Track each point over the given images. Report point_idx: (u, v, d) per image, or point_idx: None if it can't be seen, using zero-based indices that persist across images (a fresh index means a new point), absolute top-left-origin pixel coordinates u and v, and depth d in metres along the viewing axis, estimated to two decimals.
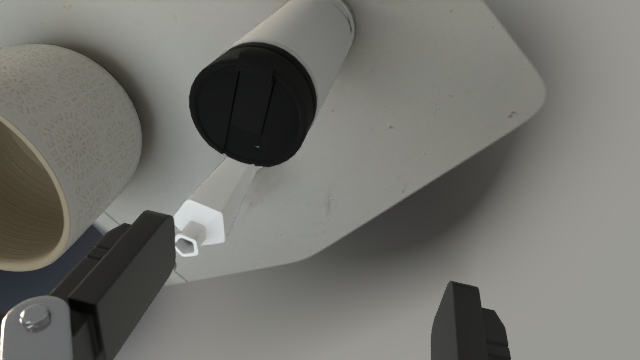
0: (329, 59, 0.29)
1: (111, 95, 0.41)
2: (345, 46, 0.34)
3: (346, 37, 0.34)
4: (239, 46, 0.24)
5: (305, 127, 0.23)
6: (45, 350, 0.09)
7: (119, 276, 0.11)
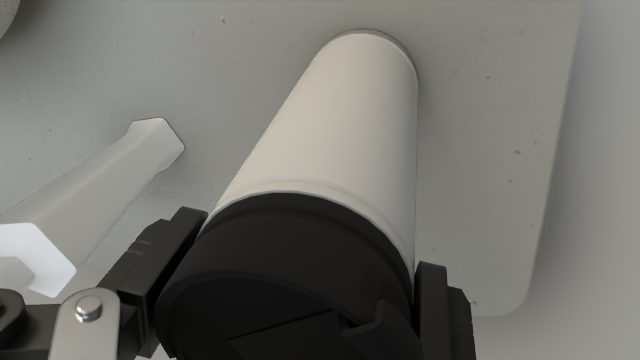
0: None
1: None
2: None
3: None
4: (343, 220, 0.11)
5: None
6: (93, 341, 0.09)
7: (163, 269, 0.11)
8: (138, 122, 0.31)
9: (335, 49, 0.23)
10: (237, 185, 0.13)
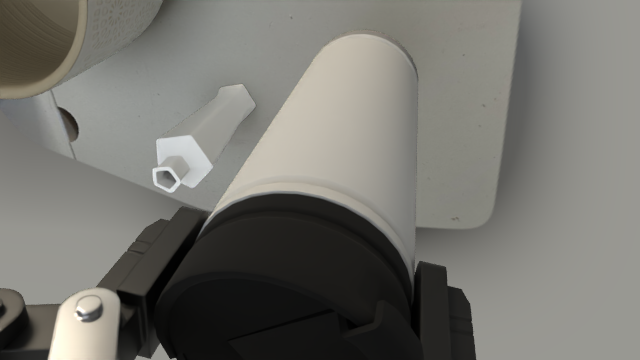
0: None
1: None
2: None
3: None
4: (343, 221, 0.11)
5: None
6: (93, 341, 0.09)
7: (163, 269, 0.11)
8: (225, 87, 0.45)
9: (335, 50, 0.23)
10: (237, 186, 0.13)
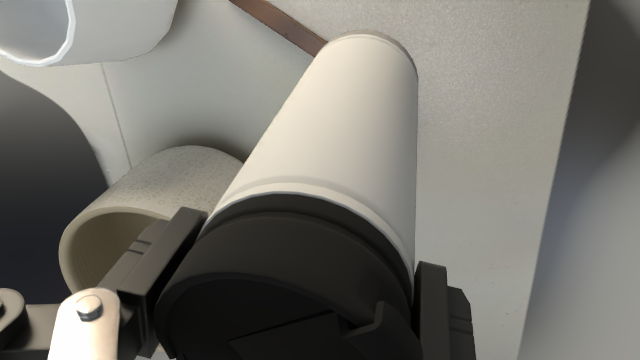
0: None
1: None
2: None
3: None
4: (343, 221, 0.11)
5: None
6: (93, 341, 0.09)
7: (163, 270, 0.11)
8: None
9: (335, 50, 0.23)
10: (237, 186, 0.13)
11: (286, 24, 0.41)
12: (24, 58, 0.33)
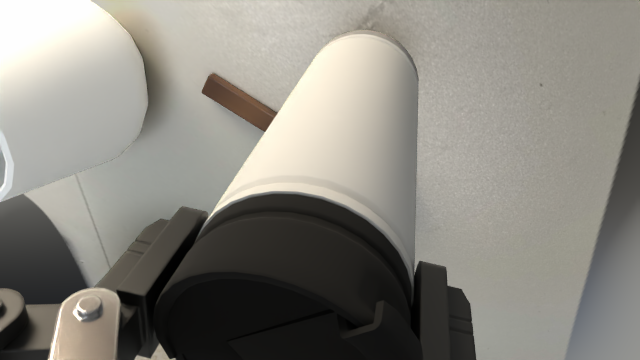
0: None
1: None
2: None
3: None
4: (343, 221, 0.11)
5: None
6: (93, 341, 0.09)
7: (163, 269, 0.11)
8: None
9: (335, 50, 0.23)
10: (237, 186, 0.13)
11: None
12: None
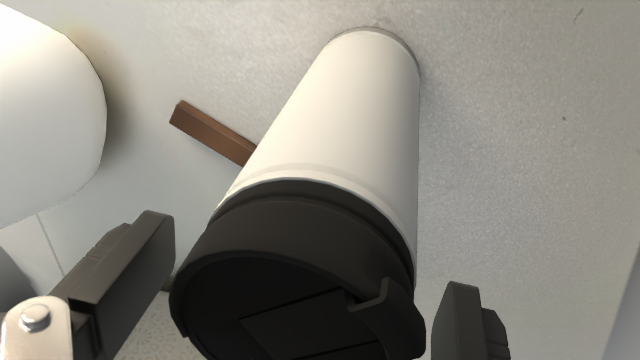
0: None
1: None
2: None
3: None
4: (349, 205, 0.12)
5: None
6: (45, 350, 0.09)
7: (119, 276, 0.11)
8: None
9: (339, 46, 0.23)
10: (247, 174, 0.13)
11: None
12: None
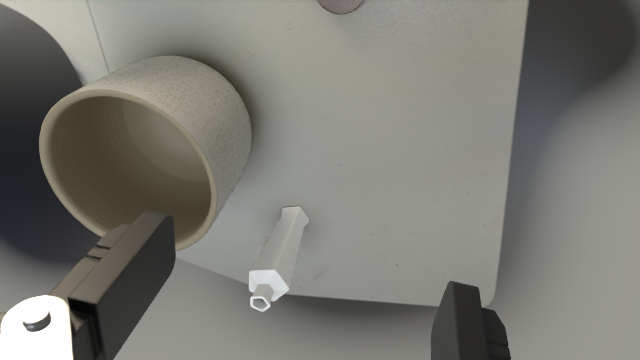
0: None
1: (249, 148, 0.50)
2: None
3: None
4: None
5: None
6: (45, 350, 0.09)
7: (119, 276, 0.11)
8: (286, 208, 0.59)
9: None
10: None
11: None
12: None
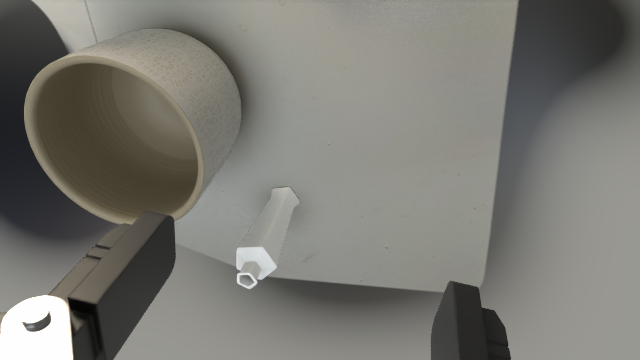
0: None
1: (238, 125, 0.49)
2: None
3: None
4: None
5: None
6: (45, 350, 0.09)
7: (119, 276, 0.11)
8: (276, 189, 0.59)
9: None
10: None
11: None
12: None
